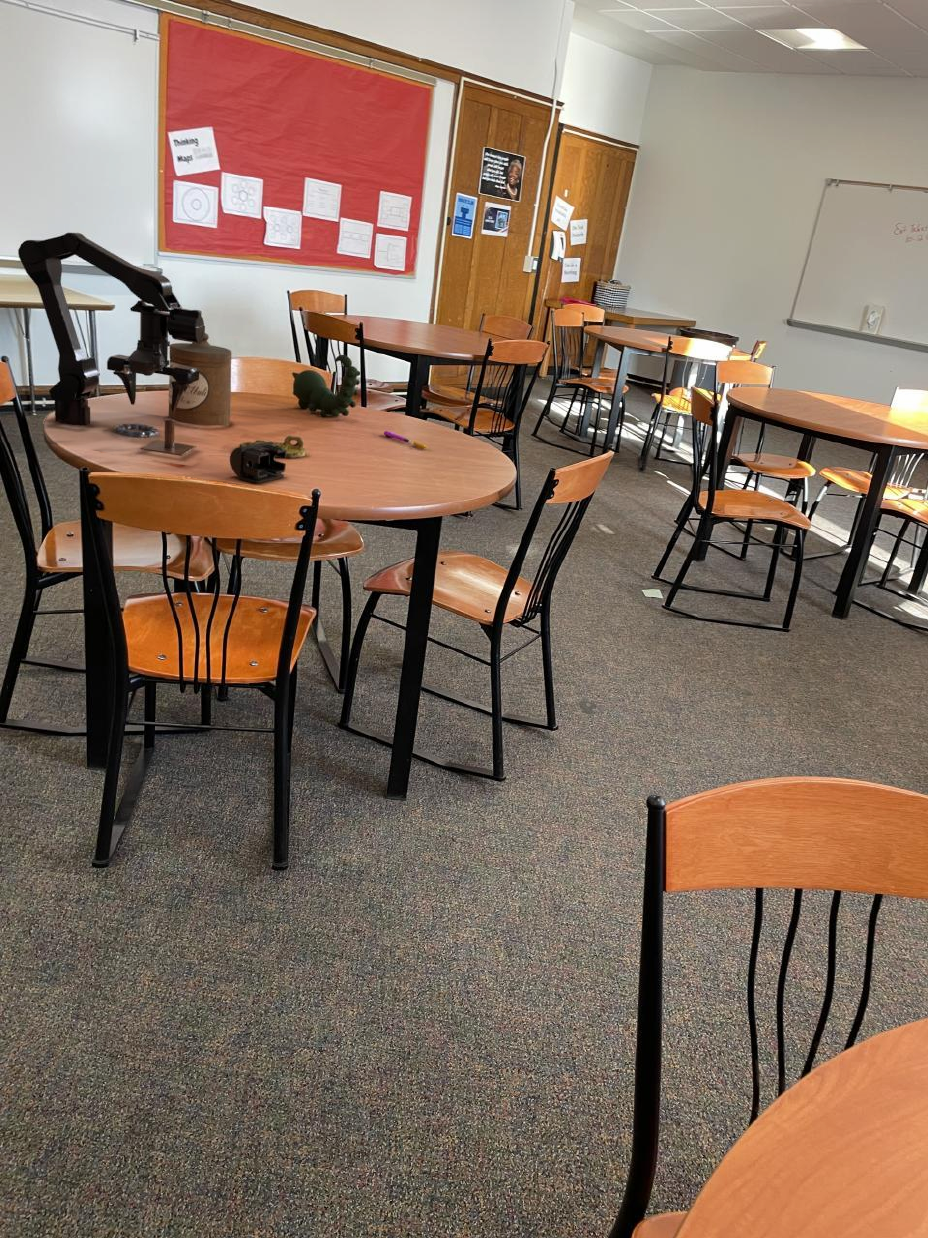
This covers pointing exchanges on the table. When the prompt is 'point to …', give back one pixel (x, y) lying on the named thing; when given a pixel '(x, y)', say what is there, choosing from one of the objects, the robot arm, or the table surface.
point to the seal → (285, 446)
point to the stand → (169, 442)
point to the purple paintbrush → (403, 439)
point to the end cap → (258, 462)
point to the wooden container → (203, 384)
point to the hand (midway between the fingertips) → (153, 407)
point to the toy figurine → (326, 390)
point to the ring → (124, 428)
